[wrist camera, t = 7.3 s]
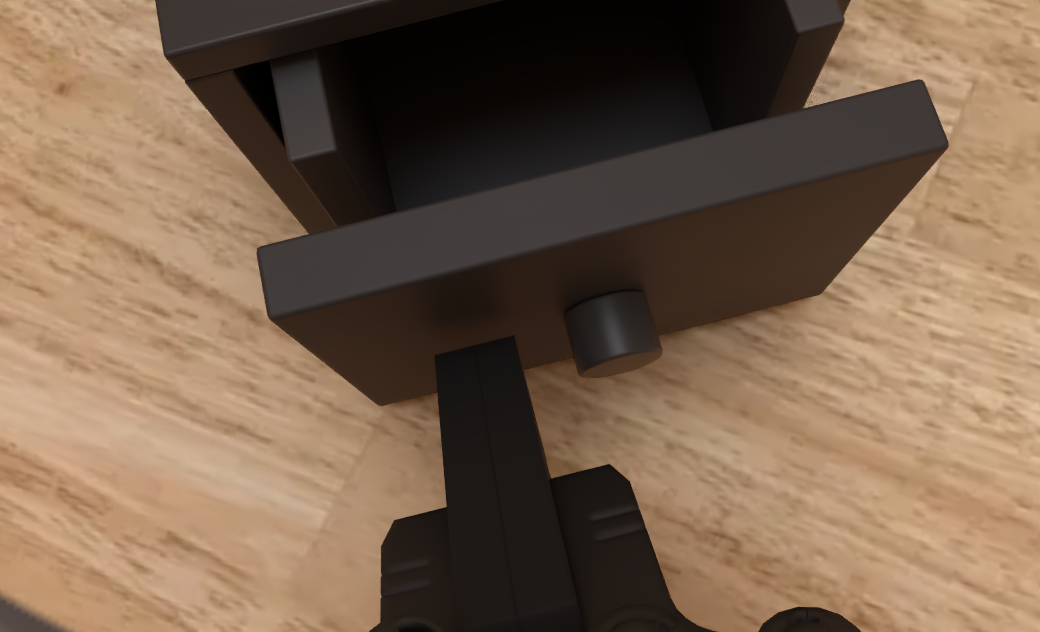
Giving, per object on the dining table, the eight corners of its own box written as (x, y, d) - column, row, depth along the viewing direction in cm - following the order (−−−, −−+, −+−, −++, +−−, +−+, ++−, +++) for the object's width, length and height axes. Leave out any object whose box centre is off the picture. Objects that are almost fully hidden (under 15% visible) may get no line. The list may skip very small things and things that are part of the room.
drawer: (839, 344, 21) (983, 219, 13) (388, 459, 21) (280, 399, 13) (668, -148, 25) (705, -461, 17) (284, -50, 25) (152, -322, 17)
